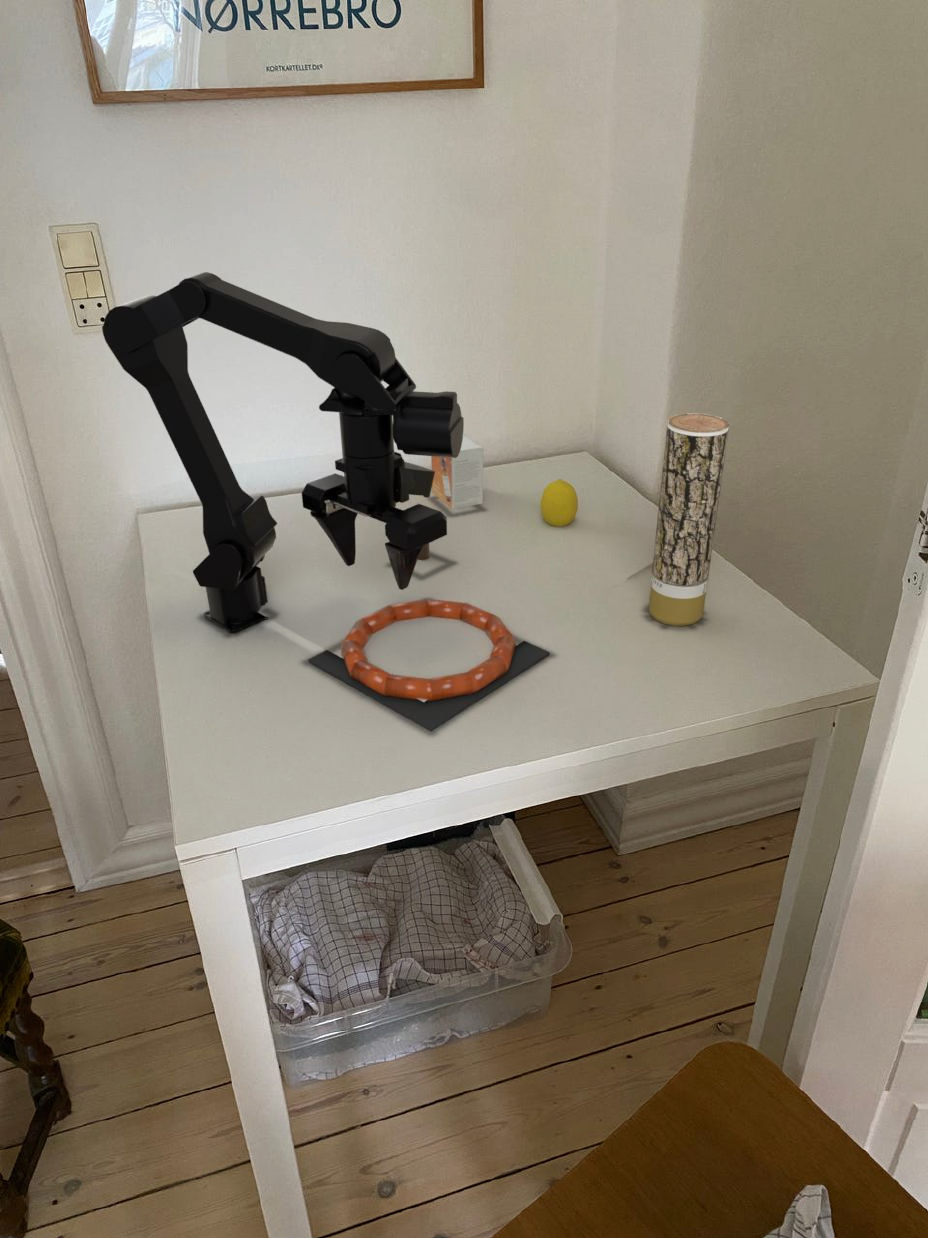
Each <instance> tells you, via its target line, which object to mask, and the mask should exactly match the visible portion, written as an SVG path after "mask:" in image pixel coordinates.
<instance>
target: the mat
mask: <svg viewBox="0 0 928 1238" xmlns="http://www.w3.org/2000/svg"><path fill="white" fill-rule="evenodd" d="M549 656H550V651H548V650H546V649H543V648H542V647H539V646H537V645H534V644H533V643H530V642H528V641H526V640H523V641H521V642H520V643H518V644H516V648H515V651H514V654H513V657H512V660H511V663H510V666H509V669H508V671H507V672H506V673H505V674H504V675H502V676H501V677H499V678H498V679H496V680H494V681H493V682H491V683H490V684H488V685H487V686H485V687H483V688H482V689H480V690H479V691H477V692H475V693H472V694H467V695H462V696H456V697H451V698H446V699H440V700H435V701H427V700H425V701H422V700H421V699H419V700H414V699H406V698H397V697H389V696H384V695H382V694H380V693H378V692H376V691H375V690H373V689H371V688H369V687H367V686H366V685H364V684H362V683H360V682H359V681H357V680H355V679H353V678H352V677H351V676H350V674H349V672H348V669H347V666H346V664H345V661H344V658H343V657H341V656H339V655H337V654H336V653H334V652H332V651H330V650H328V649H326V650H324V651H322V652H320V653H318V654H316V655H314V656H312V657H310V658H309V659H308V661H307V662H308V663H309V664H311V665H313V666H314V667H316V668H318V669H320V670H321V671H323V672H325V673H327V674H328V675H330V676H332V677H334V678H336V679H337V680H339V681H341V682H342V683H345V684H346V685H348V686H350V687H351V688H353V689H355V690H357V691H358V692H361V693H363V694H364V695H366V696H367V697H369V698H371V699H373V700H374V701H377V702H378V703H380V704H381V705H383V706H385V707H387V708H389V709H390V710H393V711H394V712H396V713H398V714H399V715H401V716H403V717H405V718H407V719H408V720H410V721H412V722H413V723H416V724H417V725H419V726H420V727H423V728H425V729H426V730H427V731H430V732H433V731H434V730H435V729H437V728H439V727H440V726H442V725H443V724H444V723H446V722H448V721H450V720H451V719H453V718H454V717H455V716H457V715H459V714H460V713H462V712H463V711H465V710H466V709H467V708H470V707H471V706H473V705H474V704H476V703H477V702H479V701H480V700H482V699H484V698H485V697H487V696H488V695H490V694H491V693H493V692H494V691H496V690H497V689H499V688H500V687H502V686H504V685H505V684H506V683H508V682H510V681H512V680H513V679H514V678H516V677H518V676H519V675H521V674H522V673H524V672H526V671H527V670H528V669H530V668H531V667H533V666H535V665H536V664H538V663H539V662H541V661H543V660H544V659H546V658H547V657H549Z"/></svg>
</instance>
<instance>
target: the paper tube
mask: <svg viewBox="0 0 928 1238" xmlns="http://www.w3.org/2000/svg"><path fill="white" fill-rule="evenodd" d="M729 426H730V423H729V421H728V420H727V419H725V418H723V417H720V416H717V415H714V414H708V413H699V412H698V413H697V412H693V413H692V412H690V413H679V414H675V415H672V416H670V417H668V419H667V424H666V432H665V441H664V451H663V461H662V462H663V463H662V471H661V472H662V473H661V479H660V490H659V499H658V501H659V502H658V510H657V511H658V512H657V519H656V520H657V521H656V529H655V530H656V531H655V537H654V538H655V540H654V549H653V557H652V567H651V568H652V569H651V579H650V591H649V598H648V599H649V600H648V612H649V614H650V615H651V617H652V618H653V619H654V620H656V621H658V622H659V623H662V624H664V625H668V626H672V627H686V626H690V625H693V624H696V623H697V622H699V621H700V620H701V619H702V618H703V615H704V610H705V603H706V595H707V590H708V582H709V575H710V568H711V563H712V554H713V546H714V538H715V531H716V525H717V518H718V512H719V511H718V510H719V503H720V496H721V488H722V481H723V473H724V468H725V467H724V466H725V459H726V452H727V445H728V439H729V431H730V427H729Z"/></svg>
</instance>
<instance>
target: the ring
mask: <svg viewBox="0 0 928 1238" xmlns="http://www.w3.org/2000/svg"><path fill="white" fill-rule="evenodd" d="M426 617H427V618H428V617H429V618H430V617H431V618H440V619H451V620H460V621H461V622H464V623H466V624H469V625H470V626H473V627H475V628H478V629H480V630H482V631H484V632H485V633H486V635H487V637H488V638H489V639H490V641H491V643H492V645H493V648H492V650H491V653H490V656H489V658H487V659H486V660H484V661H483V662H481V663H479V664H477V665H476V666H474V667H473V668H471V669H469V670H468V671H466V672H465V671H464V672H459V673H454V674H449V675H442V676H438V677H432V678H424V677H415V676H407V675H398V674H391V673H389V672H388V671H386V670H384V669H382V668H380V667H378V666H377V665H374V664H373V663H371V662H370V661H369V662H368V658H367V656H366V653H365V652H364V648H365V646H366V645H367V643H368V642H369V640H370V638H371V637H372V636H373V634H375V633H378V632H379V631H381V630H383V629H385V628H386V627H389V626H391V625H393V624H394V623H396V622H402V621H407V620H408V621H409V620H414V619H419V618H426ZM516 645H517V641H516V639H515V637H514V636H513V635H512V633H511V632H510V630H509V629H508V627H507V626H506V624H505V623H504V621H503V620H502V619H501V617H499V616H498V615H496V614H493V613H491V612H488V611H487V610H484V609H482V608H479V607H477V606H476V605H472V604H471V603H468V602H463V601H452V600H443V599H442V600H441V599H433V598H425V599H419V600H412V601H406V602H399V603H393V604H387V605H386V606H384V607H382V608H379V609H377V610H376V611H374V612H372V613H370V614H368V615H366V616H364V617H362V618H360V619H358V620H356V621H355V623H354V625H353V626H352V628H351V629H350V630H349V632H348V633H347V635H346V637H345V638H344V640H343V641H342V643H341V644H340V652H341V656H342V658H343V659H344V661H345V664H346V666H347V669H348V672H349V674H350V676H351V677H352V678H353V679H355V680H357V681H359V682H360V683H362V684H364V685H366V686H367V687H369V688H371V689H373V690H375V691H376V692H378V693H380V694H382V695H384V696H389V697H397V698H406V699H414V700H426V701H435V700H440V699H446V698H451V697H456V696H462V695H467V694H472V693H475V692H477V691H479V690H480V689H482V688H483V687H485V686H487V685H488V684H490V683H491V682H493V681H494V680H496V679H498V678H499V677H501V676H502V675H504V674H505V673H506V672H507V671H508V669H509V666H510V663H511V660H512V657H513V654H514V651H515V648H516Z"/></svg>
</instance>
